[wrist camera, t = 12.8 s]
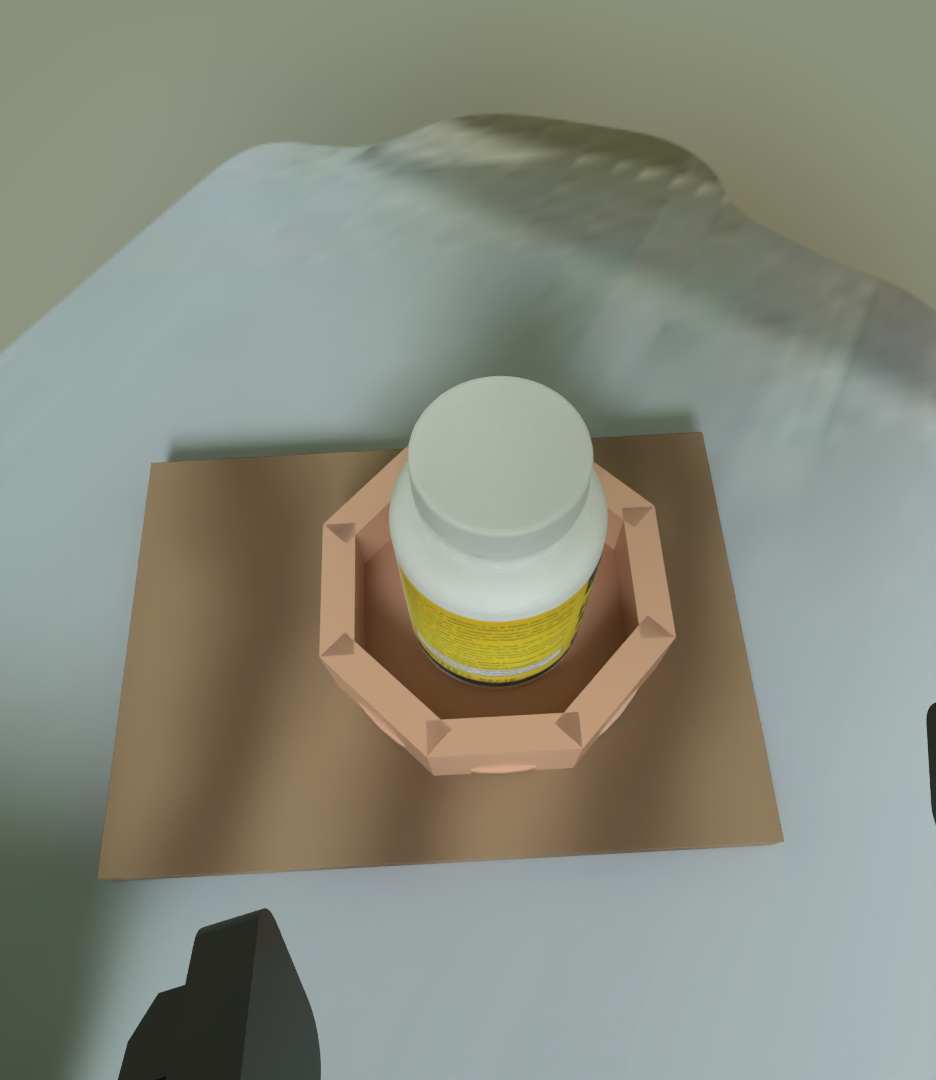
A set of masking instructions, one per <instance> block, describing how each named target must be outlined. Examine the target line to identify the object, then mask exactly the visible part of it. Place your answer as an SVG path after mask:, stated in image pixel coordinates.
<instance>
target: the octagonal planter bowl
mask: <svg viewBox="0 0 936 1080" xmlns="http://www.w3.org/2000/svg"><path fill="white" fill-rule="evenodd" d="M407 455H408V446H407V447H406V448H405V449H403V450H402V451H401V452H400V453H399V454H398V455H397V456H396V457H395V458H394V459H393V460H392V461H391V462H389V463H388V464H387V465H386V466H385V467H384V468H383V469H382V470H381V471H380V472H379V473H378V474H377V475H376V476H374V477H373V478H372V479H371V480H370V481H369V482H368V483H367V484H366V485H365V486H364V487H363V488H362V489H360V490H359V491H358V492H357V493H356V494H355V495H354V496H353V497H352V498H351V499H350V500H349V501H348V502H347V503H345V504H344V505H343V506H342V507H341V508H340V509H339V510H338V511H337V512H336V513H335V514H334V515H333V516H331V517H330V518H329V519H328V520H327V521H326V522H325V523H324V524H323V539H322V575H321V611H320V647H319V657H320V658H321V660H322V662H323V663H324V665H325V666H326V668H327V669H328V671H329V673H330V674H331V676H332V677H333V679H334V680H335V682H336V684H337V685H338V686H339V687H340V688H341V689H342V690H343V691H344V692H345V693H347V694H348V695H349V696H350V697H351V698H352V699H353V700H354V701H355V702H356V703H357V704H358V705H359V706H360V707H361V708H362V709H363V710H364V712H365V713H366V714H367V716H368V717H369V718H370V719H371V720H372V721H373V722H374V724H375V725H376V726H377V727H378V728H379V729H380V730H381V731H382V732H383V733H384V734H386V735H387V736H388V737H389V738H390V739H392V740H393V741H394V742H395V743H396V744H398V745H399V746H401V747H402V748H404V749H406V750H407V751H408V752H409V753H410V754H411V755H412V756H413V757H415V758H416V759H417V760H418V761H419V762H420V763H421V764H422V765H423V766H424V767H425V768H426V769H427V770H428V771H429V772H430V773H431V774H433V775H434V776H438V775H456V774H478V775H510V774H518V773H526V772H530V771H533V770H546V769H564V768H573V767H574V766H575V765H576V763H577V762H578V761H579V760H580V759H581V757H582V756H583V755H584V754H585V753H586V751H587V750H588V749H589V748H590V747H591V745H592V744H593V743H594V742H595V741H596V740H597V739H598V738H599V737H600V736H602V735H603V734H604V733H605V732H606V731H607V730H608V729H609V728H610V727H611V726H612V725H613V724H614V723H615V722H616V720H617V719H618V718H619V717H620V716H621V714H622V713H623V711H624V710H625V709H626V707H627V706H628V704H629V703H630V702H631V700H632V698H633V697H634V695H635V693H636V692H637V690H638V689H639V688H640V686H641V685H642V684H643V683H644V682H645V680H646V679H647V678H648V677H649V676H650V674H651V673H652V672H653V671H654V670H655V668H656V667H657V666H658V664H659V663H660V661H661V659H662V658H663V656H664V655H665V653H666V652H667V650H668V649H669V647H670V645H671V644H672V642H673V641H674V639H675V638H676V634H675V628H674V622H673V615H672V609H671V603H670V597H669V591H668V585H667V579H666V573H665V567H664V561H663V555H662V548H661V542H660V536H659V530H658V524H657V518H656V512H655V506H654V505H653V504H651V503H650V502H648V501H647V500H646V499H644V498H643V497H642V496H640V495H639V494H637V493H636V492H635V491H633V490H632V489H631V488H629V487H628V486H626V485H625V484H624V483H622V482H621V481H620V480H618V479H617V478H615V477H614V476H613V475H611V474H610V473H608V472H607V471H606V470H604V469H603V468H602V467H600V466H599V465H597V464H596V463H595V462H593V468H594V470H595V471H596V473H597V475H598V477H599V479H600V482H601V484H602V487H603V490H604V493H605V498H606V503H607V512H608V526H607V534H606V539H605V543H604V550H603V554H602V557H601V560H600V563H599V565H598V569H597V572H596V575H595V578H594V581H593V584H592V588H591V591H590V595H589V599H588V602H587V605H586V608H585V612H584V614H583V618H582V622H581V625H580V627H579V630H578V633H577V635H576V638H575V640H574V642H573V644H572V646H571V648H570V649H569V651H568V652H567V654H566V655H565V657H564V658H563V659H562V660H561V661H560V662H559V663H558V664H557V665H556V666H555V667H554V668H553V669H552V670H551V671H549V672H548V673H546V674H545V675H543V676H542V677H540V678H538V679H536V680H534V681H532V682H530V683H527V684H524V685H521V686H518V687H514V688H508V689H484V688H478V687H474V686H470V685H467V684H464V683H462V682H459V681H457V680H455V679H453V678H452V677H450V676H448V675H447V674H445V673H444V672H442V671H441V670H440V669H439V668H438V667H437V666H436V665H435V664H434V663H433V662H432V661H431V660H430V659H429V658H428V657H427V655H426V654H425V653H424V651H423V650H422V648H421V646H420V644H419V642H418V640H417V638H416V636H415V633H414V630H413V627H412V623H411V619H410V615H409V611H408V607H407V603H406V598H405V594H404V590H403V586H402V581H401V577H400V573H399V568H398V564H397V560H396V556H395V552H394V548H393V544H392V540H391V535H390V527H389V508H390V501H391V496H392V491H393V488H394V485H395V482H396V480H397V478H398V476H399V474H400V472H401V470H402V468H403V467H404V465H405V464H406V462H407V461H408V458H407Z"/></svg>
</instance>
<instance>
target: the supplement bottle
mask: <svg viewBox="0 0 936 1080" xmlns="http://www.w3.org/2000/svg"><path fill="white" fill-rule="evenodd" d="M407 458H408V461H407V462H406V464H405V465H404V467H403V468H402V470H401V472H400V474H399V476H398V478H397V480H396V482H395V485H394V488H393V491H392V496H391V501H390V508H389V527H390V535H391V540H392V544H393V548H394V552H395V556H396V560H397V564H398V568H399V573H400V577H401V581H402V586H403V590H404V594H405V598H406V603H407V607H408V611H409V615H410V619H411V623H412V627H413V630H414V633H415V636H416V638H417V640H418V642H419V644H420V646H421V648H422V650H423V651H424V653H425V654H426V655H427V657H428V658H429V659H430V660H431V661H432V662H433V663H434V664H435V665H436V666H437V667H438V668H439V669H440V670H441V671H442V672H444V673H445V674H447V675H448V676H450V677H452V678H453V679H455V680H457V681H459V682H462V683H464V684H467V685H470V686H474V687H478V688H484V689H508V688H514V687H518V686H521V685H524V684H527V683H530V682H532V681H534V680H536V679H538V678H540V677H542V676H543V675H545V674H546V673H548V672H549V671H551V670H552V669H553V668H554V667H555V666H556V665H557V664H558V663H559V662H560V661H561V660H562V659H563V658H564V657H565V655H566V654H567V652H568V651H569V649H570V648H571V646H572V644H573V642H574V640H575V638H576V635H577V633H578V630H579V627H580V625H581V622H582V618H583V614H584V612H585V608H586V605H587V602H588V599H589V595H590V591H591V588H592V584H593V581H594V578H595V575H596V572H597V569H598V565H599V563H600V560H601V557H602V554H603V550H604V543H605V539H606V534H607V526H608V512H607V503H606V498H605V493H604V490H603V487H602V484H601V482H600V479H599V477H598V475H597V473H596V471H595V470H594V468H593V446H592V441H591V437H590V434H589V431H588V429H587V426H586V424H585V422H584V420H583V419H582V417H581V416H580V414H579V413H578V411H577V410H576V409H575V408H574V407H573V406H572V405H571V404H570V403H569V402H568V401H567V400H566V399H565V398H564V397H562V396H561V395H560V394H558V393H557V392H555V391H554V390H552V389H551V388H549V387H547V386H545V385H543V384H540V383H538V382H535V381H532V380H528V379H524V378H519V377H513V376H490V377H483V378H477V379H473V380H469V381H466V382H463V383H461V384H458V385H456V386H454V387H452V388H451V389H449V390H447V391H445V392H444V393H442V394H441V395H440V396H439V397H437V398H436V399H435V400H434V401H433V402H432V403H431V404H430V405H429V406H428V407H427V408H426V409H425V410H424V411H423V413H422V414H421V416H420V417H419V419H418V421H417V422H416V424H415V426H414V429H413V431H412V433H411V437H410V441H409V445H408V455H407Z"/></svg>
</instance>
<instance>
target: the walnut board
mask: <svg viewBox="0 0 936 1080" xmlns="http://www.w3.org/2000/svg"><path fill="white" fill-rule="evenodd" d="M591 441H592V446H593V462H595V463H596V464H597V465H599V466H600V467H602V468H603V469H604V470H606V471H607V472H608V473H610V474H611V475H613V476H614V477H615V478H617V479H618V480H620V481H621V482H622V483H624V484H625V485H626V486H628V487H629V488H631V489H632V490H633V491H635V492H636V493H637V494H639V495H640V496H642V497H643V498H644V499H646V500H647V501H648V502H650V503H651V504H653V505H654V506H655V512H656V518H657V524H658V530H659V536H660V542H661V548H662V555H663V561H664V567H665V573H666V579H667V585H668V591H669V597H670V603H671V609H672V615H673V622H674V628H675V634H676V638H675V639H674V641H673V642H672V644H671V645H670V647H669V649H668V650H667V652H666V653H665V655H664V656H663V658H662V659H661V661H660V663H659V664H658V666H657V667H656V668H655V670H654V671H653V672H652V673H651V674H650V676H649V677H648V678H647V679H646V680H645V682H644V683H643V684H642V685H641V686H640V688H639V689H638V690H637V692H636V693H635V695H634V697H633V698H632V700H631V702H630V703H629V704H628V706H627V707H626V709H625V710H624V711H623V713H622V714H621V716H620V717H619V718H618V719H617V720H616V722H615V723H614V724H613V725H612V726H611V727H610V728H609V729H608V730H607V731H606V732H605V733H604V734H603V735H602V736H600V737H599V738H598V739H597V740H596V741H595V742H594V743H593V744H592V745H591V747H590V748H589V749H588V750H587V751H586V753H585V754H584V755H583V756H582V757H581V759H580V760H579V761H578V762H577V763H576V765H575V766H574V767H573V768H564V769H546V770H533V771H530V772H526V773H518V774H510V775H478V774H456V775H438V776H434V775H433V774H431V773H430V772H429V771H428V770H427V769H426V768H425V767H424V766H423V765H422V764H421V763H420V762H419V761H418V760H417V759H416V758H415V757H413V756H412V755H411V754H410V753H409V752H408V751H407V750H406V749H404V748H402V747H401V746H399V745H398V744H396V743H395V742H394V741H393V740H392V739H390V738H389V737H388V736H387V735H386V734H384V733H383V732H382V731H381V730H380V729H379V728H378V727H377V726H376V725H375V724H374V722H373V721H372V720H371V719H370V718H369V717H368V716H367V714H366V713H365V712H364V710H363V709H362V708H361V707H360V706H359V705H358V704H357V703H356V702H355V701H354V700H353V699H352V698H351V697H350V696H349V695H348V694H347V693H345V692H344V691H343V690H342V689H341V688H340V687H339V686H338V685H337V684H336V682H335V680H334V679H333V677H332V676H331V674H330V673H329V671H328V669H327V668H326V666H325V665H324V663H323V662H322V660H321V658H320V657H319V647H320V611H321V575H322V539H323V524H324V523H325V522H326V521H327V520H328V519H329V518H330V517H331V516H333V515H334V514H335V513H336V512H337V511H338V510H339V509H340V508H341V507H342V506H343V505H344V504H345V503H347V502H348V501H349V500H350V499H351V498H352V497H353V496H354V495H355V494H356V493H357V492H358V491H359V490H360V489H362V488H363V487H364V486H365V485H366V484H367V483H368V482H369V481H370V480H371V479H372V478H373V477H374V476H376V475H377V474H378V473H379V472H380V471H381V470H382V469H383V468H384V467H385V466H386V465H387V464H388V463H389V462H391V461H392V460H393V459H394V458H395V457H396V456H397V455H398V454H399V453H400V452H401V451H402V450H403V449H392V450H375V451H357V452H339V453H321V454H303V455H286V456H268V457H250V458H232V459H215V460H197V461H179V462H161V463H151V470H150V478H149V485H148V493H147V501H146V508H145V516H144V524H143V531H142V539H141V547H140V554H139V562H138V570H137V577H136V585H135V593H134V600H133V608H132V616H131V623H130V631H129V638H128V646H127V654H126V661H125V669H124V677H123V684H122V692H121V700H120V707H119V715H118V723H117V730H116V738H115V746H114V753H113V761H112V769H111V776H110V784H109V792H108V799H107V807H106V815H105V822H104V830H103V837H102V845H101V853H100V860H99V868H98V876H97V879H100V880H109V881H125V880H143V879H162V878H180V877H198V876H216V875H234V874H252V873H270V872H288V871H307V870H325V869H343V868H361V867H379V866H397V865H415V864H433V863H452V862H470V861H488V860H506V859H524V858H542V857H560V856H578V855H597V854H615V853H633V852H651V851H669V850H687V849H705V848H723V847H742V846H760V845H772V844H776V843H779V842H783V841H784V839H783V834H782V829H781V824H780V819H779V814H778V809H777V804H776V799H775V794H774V789H773V784H772V779H771V774H770V769H769V764H768V759H767V754H766V749H765V744H764V739H763V734H762V729H761V724H760V719H759V714H758V709H757V704H756V699H755V694H754V689H753V684H752V679H751V674H750V669H749V664H748V659H747V654H746V649H745V644H744V639H743V634H742V629H741V624H740V619H739V614H738V610H737V605H736V600H735V595H734V590H733V585H732V580H731V575H730V570H729V565H728V560H727V555H726V550H725V545H724V540H723V535H722V530H721V525H720V520H719V515H718V510H717V505H716V500H715V495H714V490H713V485H712V480H711V475H710V470H709V465H708V460H707V455H706V450H705V445H704V440H703V435H702V432H695V433H677V434H659V435H641V436H624V437H606V438H591Z"/></svg>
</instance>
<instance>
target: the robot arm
mask: <svg viewBox="0 0 936 1080" xmlns="http://www.w3.org/2000/svg"><path fill="white" fill-rule="evenodd" d="M927 739H928V756H929V773H930V790H931V806H932V813H933V817H934V820H935V823H936V703H934V704H932V705H931V706H930V708H929V710H928V712H927ZM118 1080H321V1060H320V1048H319V1040H318V1034H317V1029H316V1024H315V1020H314V1016H313V1012H312V1009H311V1006H310V1003H309V1001H308V998H307V996H306V993H305V991H304V988H303V986H302V984H301V981H300V979H299V976H298V974H297V972H296V969H295V967H294V964H293V962H292V959H291V957H290V955H289V952H288V950H287V947H286V945H285V942H284V940H283V938H282V935H281V933H280V930H279V928H278V925H277V923H276V921H275V919H274V917H273V915H272V913H271V912H270V911H269V910H268V909H265V908H264V909H261V910H258V911H254V912H251V913H248V914H245V915H242V916H238V917H235V918H232V919H229V920H225V921H222V922H219V923H216V924H213V925H209V926H206V927H203V928H201V929H200V930H199V931H198V932H197V935H196V937H195V941H194V945H193V950H192V955H191V960H190V964H189V969H188V974H187V979H186V984H185V985H184V986H180V987H177V988H174V989H171V990H168V991H164V992H161V993H158V995H157V996H156V998H155V1000H154V1001H153V1003H152V1004H151V1006H150V1008H149V1009H148V1011H147V1012H146V1014H145V1016H144V1017H143V1019H142V1020H141V1022H140V1024H139V1025H138V1027H137V1028H136V1030H135V1032H134V1033H133V1035H132V1036H131V1038H130V1039H129V1041H128V1044H127V1048H126V1051H125V1055H124V1059H123V1063H122V1066H121V1070H120V1074H119V1078H118Z"/></svg>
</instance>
